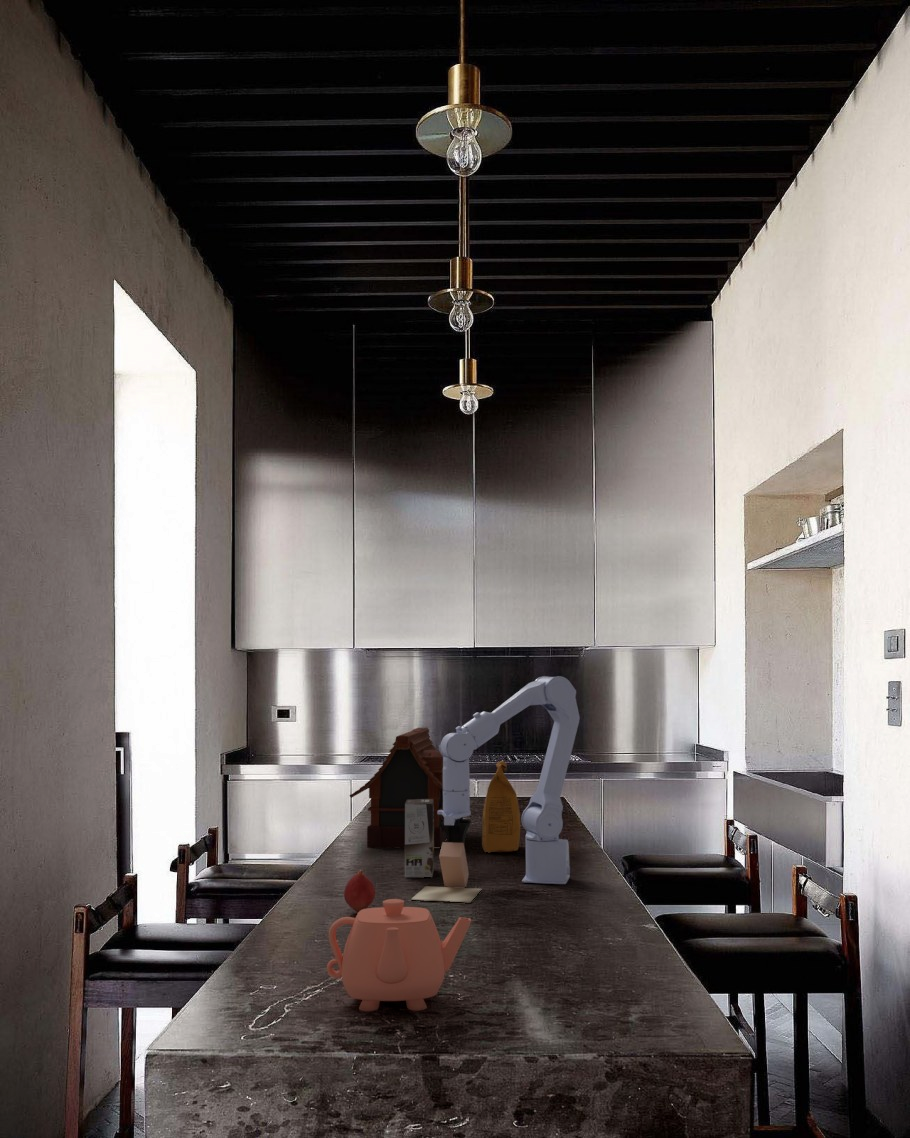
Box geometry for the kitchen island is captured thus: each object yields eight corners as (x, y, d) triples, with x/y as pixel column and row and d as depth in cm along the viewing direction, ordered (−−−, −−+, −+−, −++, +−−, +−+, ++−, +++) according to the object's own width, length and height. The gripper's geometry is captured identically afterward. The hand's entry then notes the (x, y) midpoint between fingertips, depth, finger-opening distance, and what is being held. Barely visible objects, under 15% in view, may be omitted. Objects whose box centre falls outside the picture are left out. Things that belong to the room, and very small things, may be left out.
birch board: (481, 890, 210) (481, 888, 210) (470, 903, 198) (470, 901, 198) (425, 888, 213) (425, 886, 213) (411, 901, 201) (411, 898, 201)
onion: (338, 914, 190) (338, 871, 191) (355, 908, 195) (355, 865, 196) (364, 918, 187) (364, 873, 188) (380, 911, 192) (380, 868, 193)
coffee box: (433, 878, 223) (432, 803, 225) (403, 878, 223) (403, 803, 225) (434, 869, 232) (434, 798, 234) (406, 869, 232) (406, 798, 234)
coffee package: (522, 846, 263) (521, 760, 265) (520, 854, 250) (519, 764, 253) (484, 845, 264) (483, 759, 266) (479, 854, 251) (479, 764, 254)
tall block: (468, 874, 216) (463, 842, 211) (465, 888, 212) (460, 856, 208) (448, 873, 217) (442, 842, 212) (444, 887, 213) (439, 856, 209)
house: (457, 850, 257) (456, 735, 259) (347, 849, 260) (348, 734, 263) (471, 829, 291) (471, 727, 294) (374, 827, 295) (375, 727, 297)
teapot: (476, 997, 142) (475, 898, 143) (393, 1031, 129) (393, 922, 130) (392, 975, 152) (391, 883, 153) (307, 1005, 139) (308, 904, 140)
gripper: (445, 785, 224) (445, 848, 223) (429, 793, 210) (429, 860, 209) (476, 786, 223) (477, 849, 221) (463, 794, 209) (463, 862, 207)
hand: (456, 855), depth 215 cm, fingers closed
